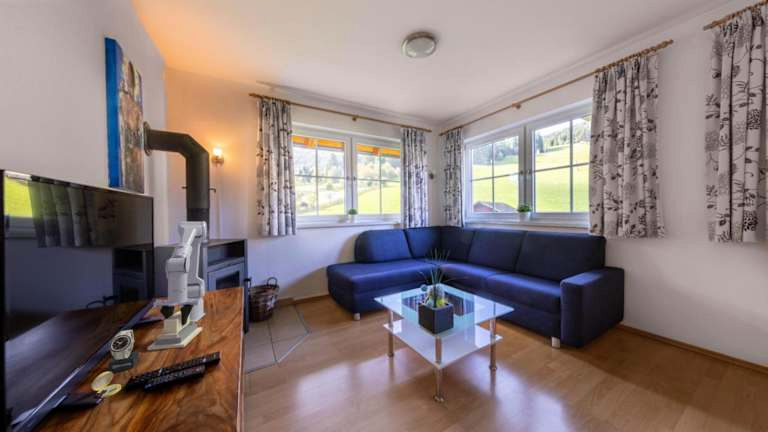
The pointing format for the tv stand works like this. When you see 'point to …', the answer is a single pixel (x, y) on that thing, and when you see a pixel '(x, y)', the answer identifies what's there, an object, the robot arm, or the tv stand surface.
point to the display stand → (176, 337)
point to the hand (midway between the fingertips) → (177, 324)
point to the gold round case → (105, 384)
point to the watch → (123, 352)
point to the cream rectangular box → (174, 323)
